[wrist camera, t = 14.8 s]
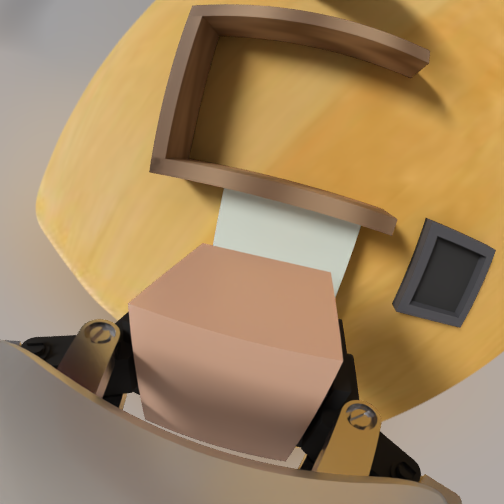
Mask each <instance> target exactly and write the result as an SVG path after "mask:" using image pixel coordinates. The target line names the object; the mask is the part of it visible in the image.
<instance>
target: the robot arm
mask: <svg viewBox="0 0 504 504" xmlns="http://www.w3.org/2000/svg"><path fill="white" fill-rule="evenodd" d="M338 322H339V330H340V338H341V346H342V355H343V362H342V364H341V366H340V369H339V371H338V373H337V375H336V377H335V379H334V381H333V383H332V384H331V386H330V388H329V390H328V392H327V394H326V396H325V398H324V400H323V401H322V403H321V405H320V407H319V409H318V410H317V412H316V414H315V416H314V417H313V419H312V421H311V422H310V424H309V426H308V427H307V429H306V431H305V432H304V434H303V436H302V437H301V439H300V440H299V442H298V444H297V445H296V446H297V447H301V449H302V450H303V451H304V452H305V453H306V454H305V455H304V457H303V459H302V461H301V463H300V465H299V467H298V469H294V468H288V467H282V466H277V465H272V464H268V463H263V462H259V461H255V460H251V459H247V458H243V457H239V456H236V455H232V454H229V453H225V452H222V451H219V450H216V449H213V448H210V447H207V446H204V445H201V444H198V443H195V442H193V441H190V440H187V439H185V438H182V437H179V436H177V435H174V434H172V433H170V432H167V431H165V430H163V429H160V428H158V427H156V426H154V425H152V424H149V423H147V422H145V421H143V420H141V419H139V418H137V417H135V416H133V415H130V414H129V413H127V412H125V411H123V407H124V403H125V400H126V397H127V393H132V392H135V393H137V394H139V395H140V392H139V386H138V381H137V375H136V369H135V362H134V355H133V347H132V339H131V330H130V320H129V312H128V313H126V314H125V315H124V316H123V317H122V318H121V319H120V320H119V321H117V322H116V323H115V324H114V323H113V322H111V321H108V320H103V319H96V320H92V321H89V322H87V323H85V324H84V325H83V326H82V327H81V329H80V331H79V332H78V334H77V335H73V336H53V337H34V338H30V339H28V340H26V341H25V342H24V343H23V344H22V345H21V343H20V341H9V340H0V504H462V501H461V499H460V497H459V496H458V495H457V494H456V493H455V492H453V491H451V490H450V489H448V488H446V487H444V486H443V485H441V484H440V483H438V482H437V481H435V480H434V479H432V478H430V477H429V476H427V475H426V474H425V475H424V476H421V472H420V468H419V466H418V464H417V463H416V462H415V461H414V460H413V459H412V458H411V457H409V456H408V455H407V454H406V453H405V452H404V451H402V450H401V449H400V448H399V447H398V446H397V445H395V444H394V443H393V442H392V441H391V440H389V439H388V438H387V437H386V436H385V435H383V434H382V433H381V432H380V428H381V416H380V413H379V412H378V410H377V409H376V408H375V407H374V406H373V405H371V404H369V403H367V402H365V401H361V400H359V394H358V386H357V379H356V372H355V365H354V358H353V355H351V354H347V351H346V344H345V337H344V330H343V323H342V320H341V319H338Z"/></svg>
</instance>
